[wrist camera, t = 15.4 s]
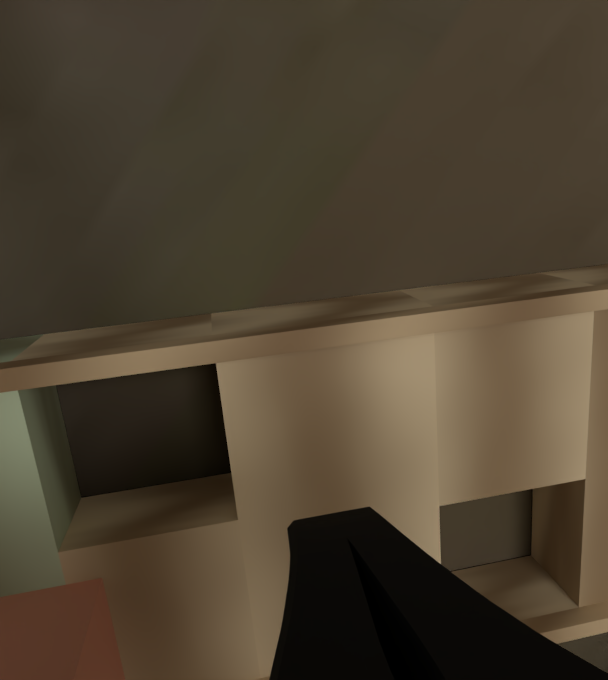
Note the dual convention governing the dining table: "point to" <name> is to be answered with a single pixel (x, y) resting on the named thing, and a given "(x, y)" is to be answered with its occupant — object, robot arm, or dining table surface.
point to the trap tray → (323, 458)
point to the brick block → (59, 634)
